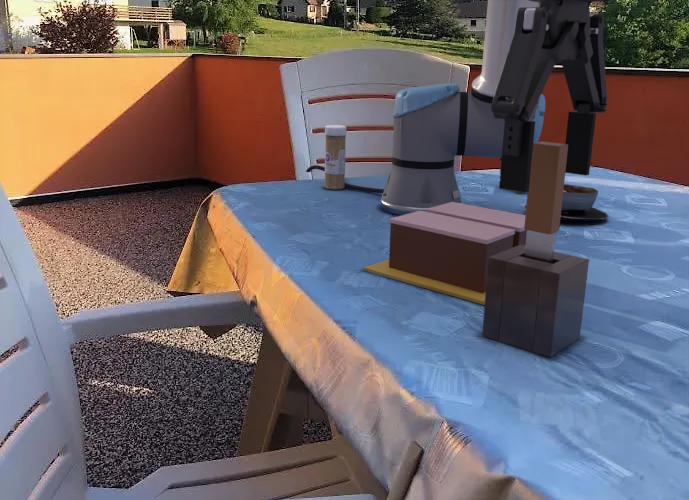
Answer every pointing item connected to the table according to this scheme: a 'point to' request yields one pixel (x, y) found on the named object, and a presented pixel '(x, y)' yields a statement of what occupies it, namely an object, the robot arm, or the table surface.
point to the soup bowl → (580, 204)
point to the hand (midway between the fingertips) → (546, 181)
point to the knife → (544, 199)
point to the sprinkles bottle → (335, 157)
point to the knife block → (534, 300)
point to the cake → (449, 248)
